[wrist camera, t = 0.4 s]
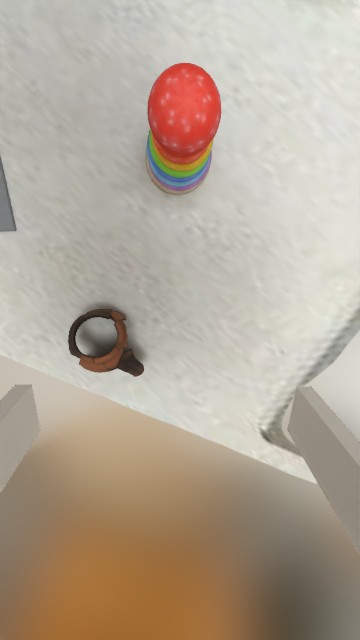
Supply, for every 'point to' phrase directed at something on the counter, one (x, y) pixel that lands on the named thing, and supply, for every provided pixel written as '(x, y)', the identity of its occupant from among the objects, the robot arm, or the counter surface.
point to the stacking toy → (181, 127)
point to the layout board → (5, 205)
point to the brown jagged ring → (112, 358)
